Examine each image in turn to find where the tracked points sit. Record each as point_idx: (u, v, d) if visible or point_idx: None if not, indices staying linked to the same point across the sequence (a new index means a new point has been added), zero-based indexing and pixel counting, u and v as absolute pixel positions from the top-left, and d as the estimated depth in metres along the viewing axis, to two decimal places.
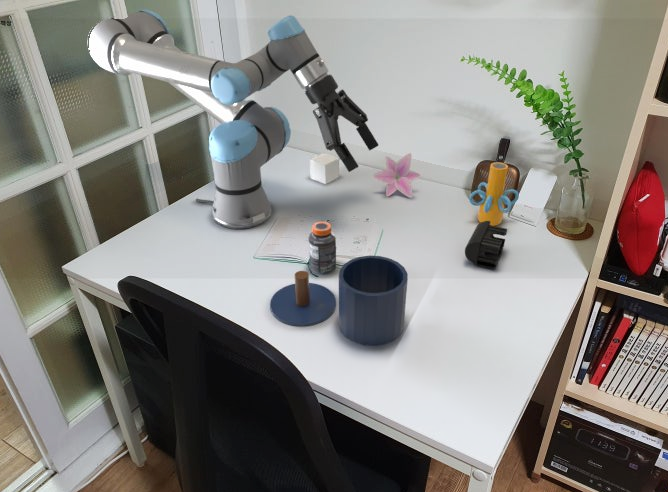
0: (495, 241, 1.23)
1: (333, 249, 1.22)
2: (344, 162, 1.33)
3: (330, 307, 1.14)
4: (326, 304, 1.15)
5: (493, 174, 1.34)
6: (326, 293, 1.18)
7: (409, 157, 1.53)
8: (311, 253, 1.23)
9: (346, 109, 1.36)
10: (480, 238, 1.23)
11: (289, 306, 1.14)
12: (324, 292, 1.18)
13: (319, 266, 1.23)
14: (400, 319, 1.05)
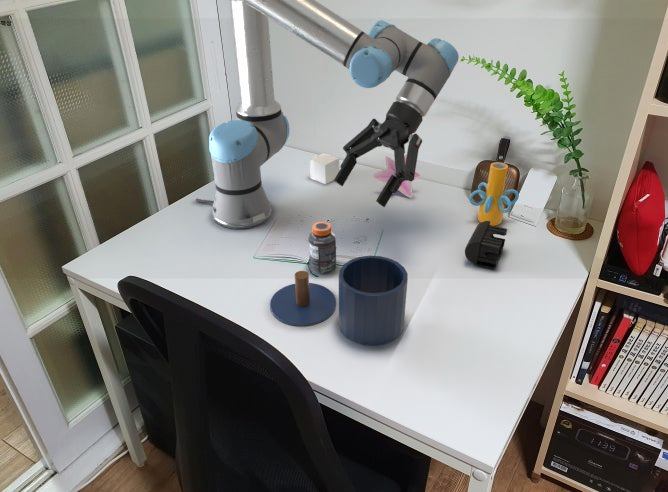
0: (495, 241, 1.23)
1: (333, 249, 1.22)
2: (385, 192, 1.18)
3: (330, 307, 1.14)
4: (326, 304, 1.15)
5: (493, 174, 1.34)
6: (326, 293, 1.18)
7: None
8: (311, 253, 1.23)
9: (380, 145, 1.26)
10: (480, 238, 1.23)
11: (289, 306, 1.14)
12: (324, 292, 1.18)
13: (319, 266, 1.23)
14: (400, 319, 1.05)
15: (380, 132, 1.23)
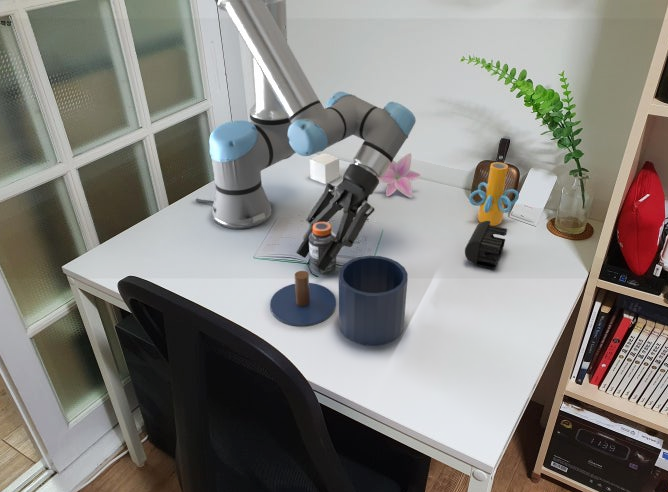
0: (495, 241, 1.23)
1: None
2: (324, 257, 1.20)
3: (330, 307, 1.14)
4: (326, 304, 1.15)
5: (493, 174, 1.34)
6: (326, 293, 1.18)
7: (409, 157, 1.53)
8: (311, 253, 1.23)
9: (340, 208, 1.24)
10: (480, 238, 1.23)
11: (289, 306, 1.14)
12: (324, 292, 1.18)
13: None
14: (400, 319, 1.05)
15: (337, 195, 1.22)
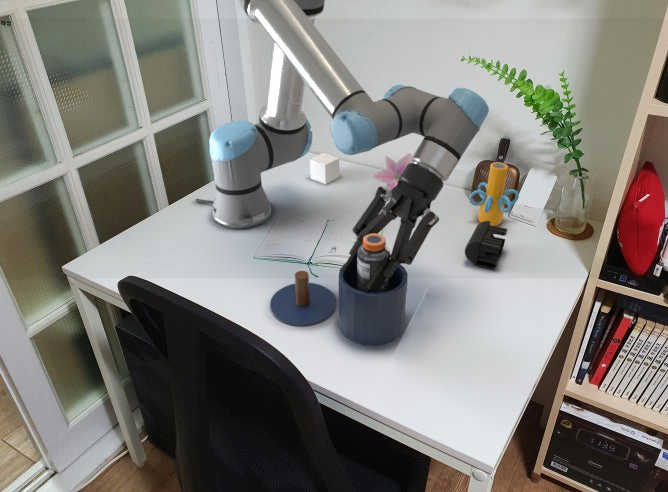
0: (495, 241, 1.23)
1: None
2: (378, 277, 0.99)
3: (330, 307, 1.14)
4: (326, 304, 1.15)
5: (493, 174, 1.34)
6: (326, 293, 1.18)
7: (409, 157, 1.53)
8: (360, 271, 1.01)
9: (394, 217, 1.03)
10: (480, 238, 1.23)
11: (289, 306, 1.14)
12: (324, 292, 1.18)
13: None
14: (400, 319, 1.05)
15: (392, 201, 1.00)
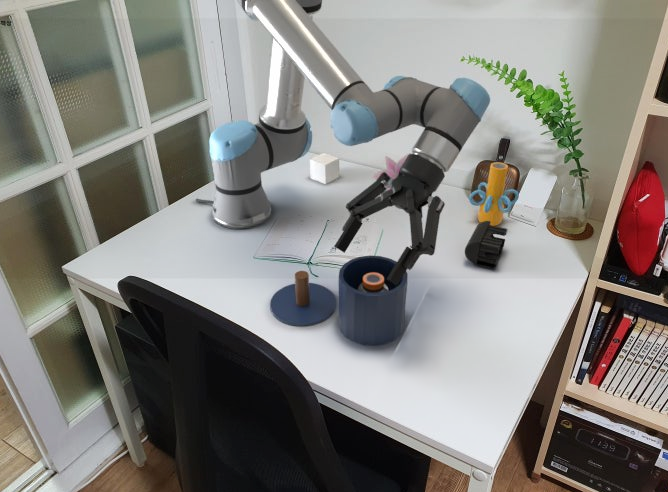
0: (495, 241, 1.23)
1: None
2: (399, 268, 0.95)
3: (330, 307, 1.14)
4: (326, 304, 1.15)
5: (493, 174, 1.34)
6: (326, 293, 1.18)
7: None
8: None
9: (391, 204, 1.03)
10: (480, 238, 1.23)
11: (289, 306, 1.14)
12: (324, 292, 1.18)
13: None
14: (400, 319, 1.05)
15: (392, 191, 1.00)
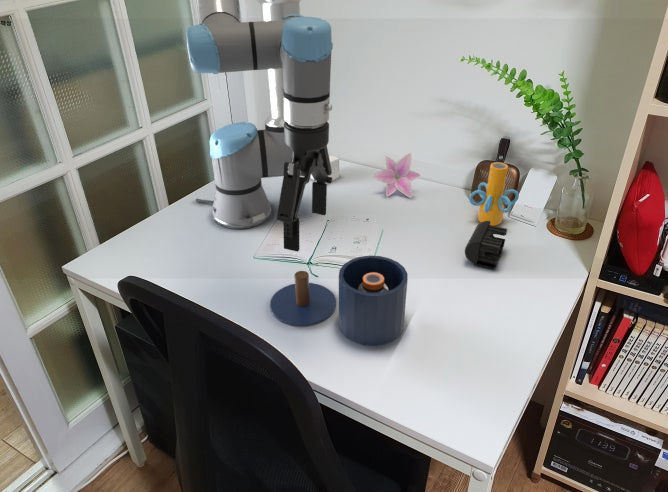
0: (495, 241, 1.23)
1: None
2: (285, 236, 0.99)
3: (330, 307, 1.14)
4: (326, 304, 1.15)
5: (493, 174, 1.34)
6: (326, 293, 1.18)
7: (409, 157, 1.53)
8: None
9: (318, 166, 1.00)
10: (480, 238, 1.23)
11: (289, 306, 1.14)
12: (324, 292, 1.18)
13: None
14: (400, 319, 1.05)
15: None
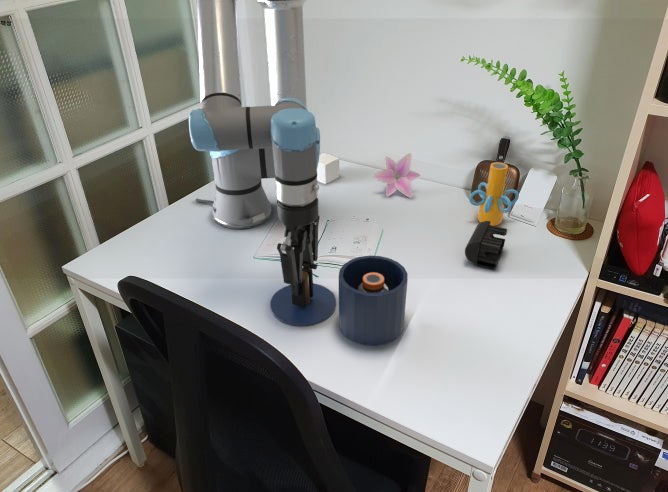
0: (495, 241, 1.23)
1: None
2: (293, 294, 1.12)
3: (330, 307, 1.14)
4: (326, 304, 1.15)
5: (493, 174, 1.34)
6: (326, 293, 1.18)
7: (409, 157, 1.53)
8: None
9: (308, 241, 1.07)
10: (480, 238, 1.23)
11: (289, 306, 1.14)
12: (324, 292, 1.18)
13: None
14: (400, 319, 1.05)
15: None
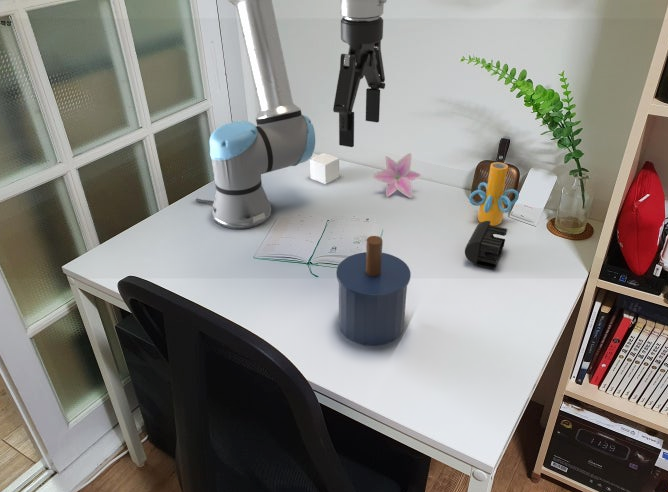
0: (495, 241, 1.23)
1: None
2: (341, 132, 1.05)
3: (405, 277, 1.02)
4: (400, 274, 1.02)
5: (493, 174, 1.34)
6: (398, 262, 1.05)
7: (409, 157, 1.53)
8: None
9: (372, 67, 1.06)
10: (480, 238, 1.23)
11: (358, 276, 1.02)
12: (395, 261, 1.06)
13: None
14: (400, 319, 1.05)
15: None
